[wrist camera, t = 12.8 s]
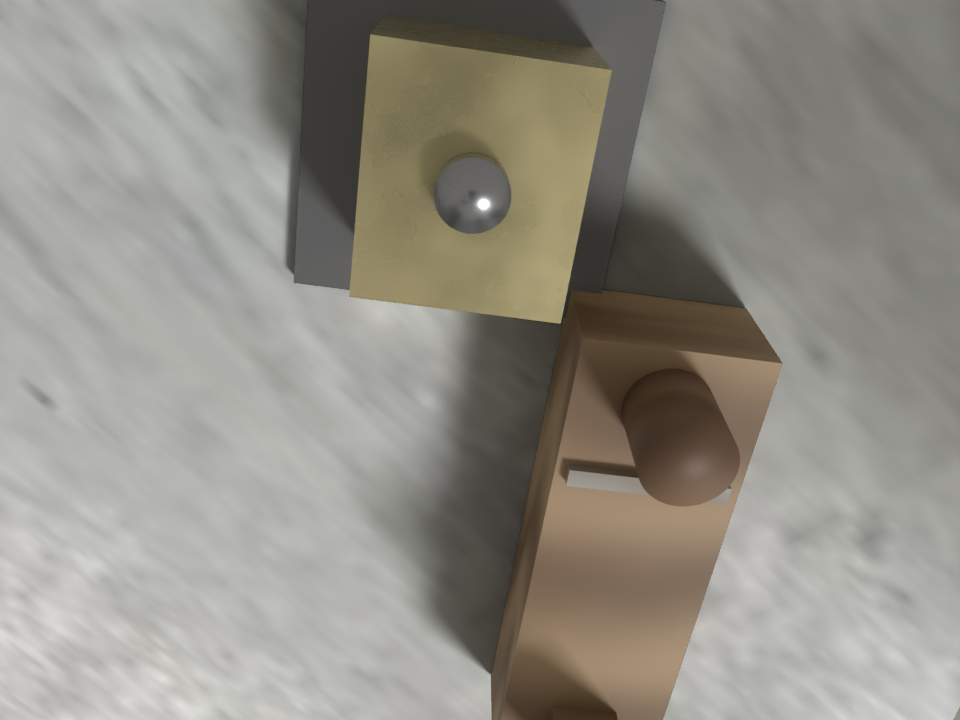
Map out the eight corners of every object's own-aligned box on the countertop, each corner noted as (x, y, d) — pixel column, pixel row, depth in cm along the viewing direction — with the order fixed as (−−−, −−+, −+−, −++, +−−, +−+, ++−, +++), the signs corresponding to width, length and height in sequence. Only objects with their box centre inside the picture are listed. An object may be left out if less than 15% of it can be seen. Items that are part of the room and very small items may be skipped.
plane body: (629, 689, 38) (665, 871, 31) (490, 675, 38) (494, 856, 30) (746, 308, 30) (830, 435, 23) (570, 285, 29) (600, 407, 22)
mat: (296, 278, 29) (294, 282, 29) (312, -54, 25) (310, -53, 24) (593, 316, 30) (595, 321, 30) (663, 0, 25) (666, 1, 25)
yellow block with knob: (550, 271, 29) (562, 332, 25) (365, 247, 28) (346, 305, 24) (593, 46, 26) (615, 74, 22) (385, 15, 25) (367, 37, 21)
